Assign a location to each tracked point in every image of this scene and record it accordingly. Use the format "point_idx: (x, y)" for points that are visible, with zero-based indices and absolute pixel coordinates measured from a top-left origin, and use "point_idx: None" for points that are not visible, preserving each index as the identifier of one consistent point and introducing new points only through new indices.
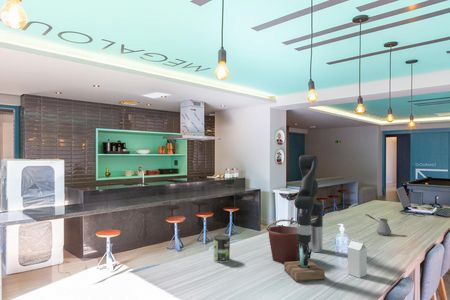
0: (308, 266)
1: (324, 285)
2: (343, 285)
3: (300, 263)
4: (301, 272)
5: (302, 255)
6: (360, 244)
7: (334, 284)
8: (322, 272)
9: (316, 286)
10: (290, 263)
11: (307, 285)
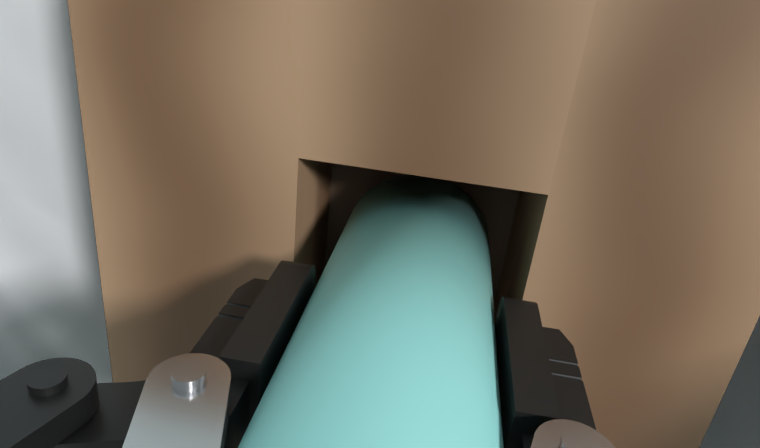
0: None
1: (40, 263)
2: None
3: (408, 241)
4: (70, 20)
5: (272, 416)
6: None
7: None
8: None
9: (10, 145)
10: (710, 84)
11: (45, 32)
